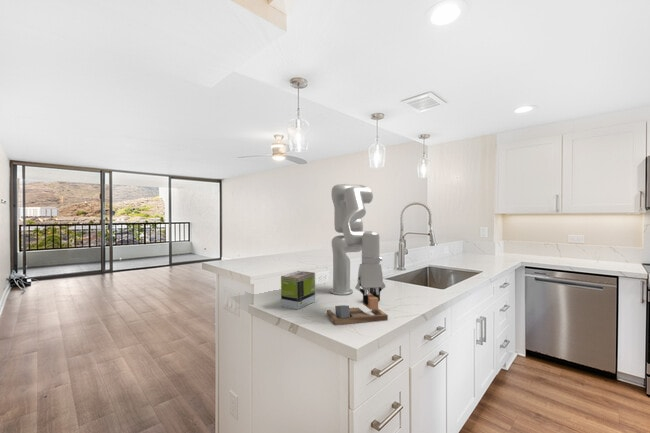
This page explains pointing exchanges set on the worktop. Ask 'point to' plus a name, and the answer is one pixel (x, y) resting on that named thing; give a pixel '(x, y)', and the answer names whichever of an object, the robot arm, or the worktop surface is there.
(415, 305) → the worktop surface
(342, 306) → the grey stub
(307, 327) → the worktop surface
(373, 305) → the terracotta stub
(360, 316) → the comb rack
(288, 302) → the tea box
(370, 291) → the battery charger
